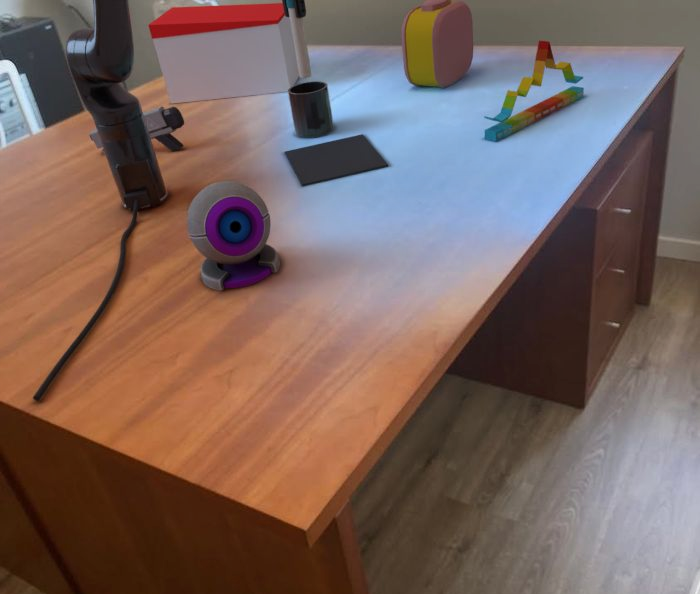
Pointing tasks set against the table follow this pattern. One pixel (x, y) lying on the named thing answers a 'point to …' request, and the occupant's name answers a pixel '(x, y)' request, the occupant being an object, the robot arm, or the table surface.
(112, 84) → the robot arm
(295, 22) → the marker
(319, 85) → the pen holder
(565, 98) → the chart
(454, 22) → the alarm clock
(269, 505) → the table surface
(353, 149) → the desk mat
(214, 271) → the webcam
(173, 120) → the gun
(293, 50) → the red-lidded white box
